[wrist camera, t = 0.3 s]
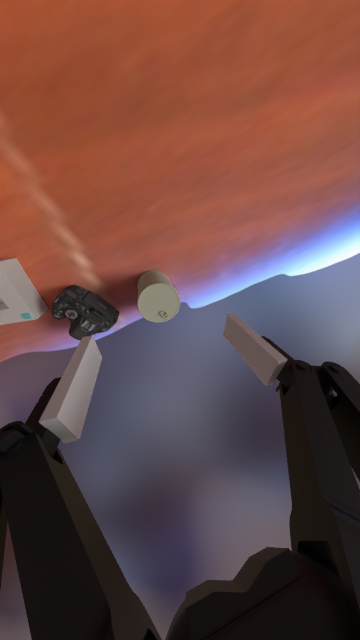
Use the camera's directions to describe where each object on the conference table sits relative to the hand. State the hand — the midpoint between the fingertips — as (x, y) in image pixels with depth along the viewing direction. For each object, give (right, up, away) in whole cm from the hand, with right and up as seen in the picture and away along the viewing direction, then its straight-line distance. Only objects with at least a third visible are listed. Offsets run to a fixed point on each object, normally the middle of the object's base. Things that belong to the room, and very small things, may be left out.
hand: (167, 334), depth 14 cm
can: (-6, +11, +25) cm, 28 cm away
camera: (-22, +5, +24) cm, 33 cm away
